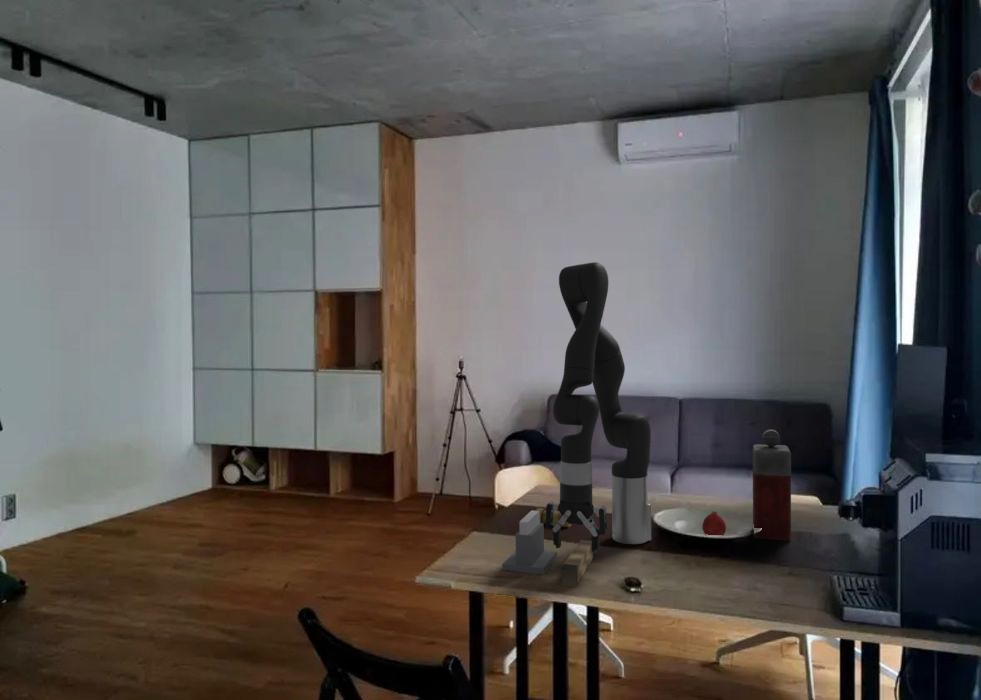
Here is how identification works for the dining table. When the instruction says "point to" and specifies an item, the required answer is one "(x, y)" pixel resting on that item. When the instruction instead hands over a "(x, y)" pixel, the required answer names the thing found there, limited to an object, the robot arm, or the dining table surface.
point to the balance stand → (530, 548)
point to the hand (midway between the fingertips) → (575, 549)
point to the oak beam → (577, 563)
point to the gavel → (556, 517)
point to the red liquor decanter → (772, 488)
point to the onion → (714, 524)
